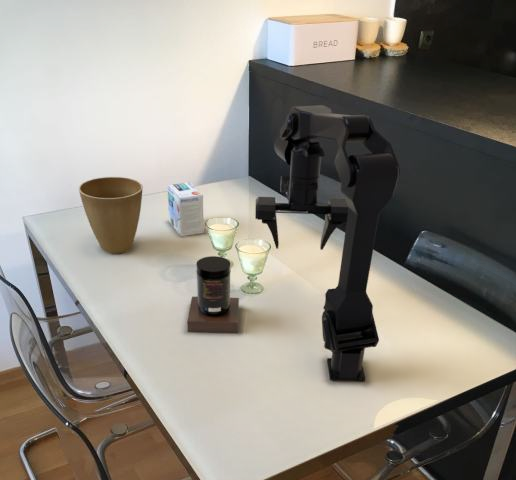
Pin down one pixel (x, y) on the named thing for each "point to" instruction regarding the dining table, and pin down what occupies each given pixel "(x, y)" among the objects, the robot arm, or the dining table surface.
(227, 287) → the supplement container
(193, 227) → the light bulb box
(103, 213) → the plant pot
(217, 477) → the dining table surface
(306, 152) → the robot arm
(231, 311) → the walnut block
